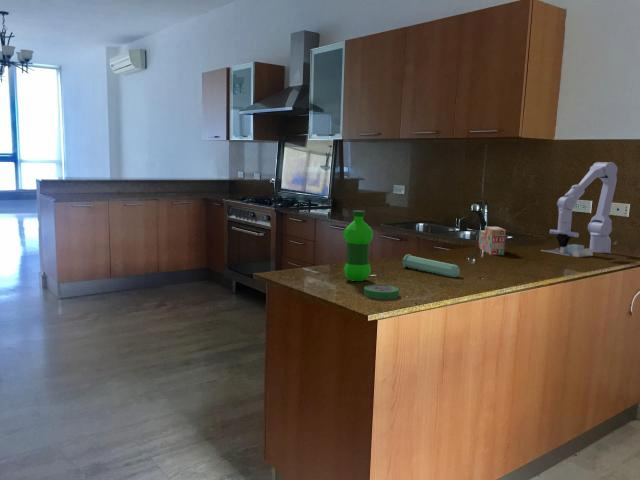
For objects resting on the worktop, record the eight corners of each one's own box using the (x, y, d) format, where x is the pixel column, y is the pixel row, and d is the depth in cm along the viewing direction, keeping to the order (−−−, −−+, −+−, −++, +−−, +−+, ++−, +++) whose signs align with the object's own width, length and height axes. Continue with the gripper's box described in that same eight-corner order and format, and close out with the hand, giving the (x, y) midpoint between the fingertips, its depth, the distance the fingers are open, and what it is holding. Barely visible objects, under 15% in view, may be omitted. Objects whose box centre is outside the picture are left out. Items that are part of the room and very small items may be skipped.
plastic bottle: (363, 284, 190) (365, 212, 187) (337, 281, 196) (338, 211, 192) (376, 279, 199) (378, 210, 195) (350, 276, 204) (352, 209, 201)
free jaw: (571, 251, 264) (571, 245, 264) (577, 252, 262) (577, 246, 261) (557, 252, 260) (557, 246, 259) (563, 253, 257) (563, 247, 256)
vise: (556, 251, 273) (557, 243, 272) (593, 257, 255) (594, 249, 255) (540, 252, 267) (540, 244, 266) (576, 259, 250) (577, 250, 249)
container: (461, 261, 206) (410, 251, 225) (451, 269, 202) (400, 258, 221) (463, 275, 208) (413, 264, 227) (454, 282, 205) (404, 270, 224)
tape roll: (400, 293, 180) (400, 285, 179) (396, 301, 169) (396, 293, 169) (366, 291, 183) (367, 283, 182) (360, 298, 172) (361, 290, 172)
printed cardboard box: (478, 248, 280) (479, 224, 278) (490, 248, 280) (491, 224, 278) (491, 255, 259) (492, 229, 257) (504, 255, 259) (505, 229, 257)
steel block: (573, 253, 261) (574, 244, 260) (583, 255, 256) (584, 245, 256) (566, 254, 258) (567, 244, 257) (576, 255, 254) (577, 246, 253)
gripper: (546, 220, 265) (544, 248, 267) (572, 223, 253) (570, 253, 255) (555, 220, 269) (553, 247, 271) (582, 223, 256) (580, 252, 258)
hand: (562, 250), depth 263 cm, fingers closed
